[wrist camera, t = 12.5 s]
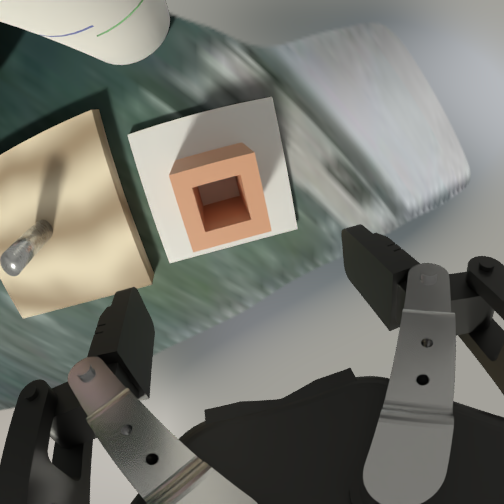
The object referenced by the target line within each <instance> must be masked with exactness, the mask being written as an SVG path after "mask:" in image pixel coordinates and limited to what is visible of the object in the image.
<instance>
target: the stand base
mask: <svg viewBox="0 0 504 504" xmlns="http://www.w3.org/2000/svg"><path fill="white" fill-rule="evenodd" d="M39 220H46V221H48V222H49V223H50V224H51V226H52V229H53V235H52V237H51V238H50V239H49V240H48V242H47V243H46V244H45V245H44V246H43V247H42V248H41V249H40V250H39V252H38V253H37V254H36V255H35V256H34V257H33V258H32V260H31V261H30V262H29V263H28V264H27V265H26V267H25V268H24V269H23V270H22V271H21V272H20V274H19V275H17V276H10V275H8V274H7V273H6V272H5V271H4V270H3V268H2V266H1V263H0V279H1V280H2V282H3V284H4V286H5V288H6V290H7V292H8V293H9V295H10V297H11V299H12V301H13V302H14V304H15V306H16V307H17V309H18V311H19V313H20V314H21V316H22V317H23V318H27V317H31V316H34V315H38V314H42V313H46V312H50V311H54V310H57V309H61V308H65V307H69V306H73V305H77V304H80V303H84V302H88V301H92V300H96V299H99V298H103V297H107V296H111V295H115V293H116V292H117V291H120V290H124V289H127V288H131V287H135V288H136V289H137V288H141V287H145V286H149V285H152V282H153V277H154V272H153V269H152V267H151V264H150V262H149V259H148V257H147V254H146V252H145V249H144V247H143V244H142V241H141V239H140V236H139V233H138V231H137V228H136V225H135V223H134V220H133V217H132V214H131V211H130V209H129V206H128V203H127V200H126V197H125V194H124V191H123V188H122V185H121V182H120V179H119V176H118V173H117V170H116V167H115V163H114V160H113V157H112V154H111V150H110V147H109V144H108V140H107V137H106V133H105V130H104V126H103V123H102V119H101V115H100V112H99V109H96V110H90V111H87V112H85V113H83V114H80V115H78V116H76V117H73V118H71V119H69V120H67V121H64V122H62V123H60V124H58V125H56V126H54V127H52V128H50V129H48V130H45V131H43V132H41V133H39V134H37V135H36V136H34V137H32V138H30V139H28V140H26V141H24V142H22V143H20V144H19V145H17V146H15V147H13V148H11V149H10V150H8V151H6V152H4V153H3V154H1V155H0V258H1V255H2V254H3V253H4V252H5V251H6V250H7V249H8V248H9V247H10V246H11V245H12V244H13V243H14V242H15V241H16V240H17V239H18V238H19V237H21V236H22V235H23V234H24V233H25V232H26V231H27V230H28V229H29V228H30V227H32V226H33V225H34V224H35V223H36V222H37V221H39Z"/></svg>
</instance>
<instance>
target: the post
mask: <svg viewBox="0 0 504 504" xmlns="http://www.w3.org/2000/svg"><path fill="white" fill-rule="evenodd" d="M52 235H53V229H52V226H51V224H50V223H49V222H48V221H46V220H39V221H37V222H36V223H35V224H34V225H33V226H32V227H30V228H29V229H28V230H27V231H26V232H25V233H24V234H23V235H22V236H21V237H19V238H18V239H17V240H16V241H15V242H14V243H13V244H12V245H11V246H10V247H9V248H8V249H7V250H6V251H5V252H4V253H3V254H2V255H1V258H0V263H1V266H2V268H3V270H4V271H5V272H6V273H7V274H8V275H10V276H17V275H19V274H20V272H21V271H22V270H23V269H24V268H25V267H26V265H27V264H28V263H29V262H30V261H31V260H32V258H33V257H34V256H35V255H36V254H37V253H38V252H39V250H40V249H41V248H42V247H43V246H44V245H45V244H46V243H47V242H48V240H49V239H50V238H51V237H52Z"/></svg>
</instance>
